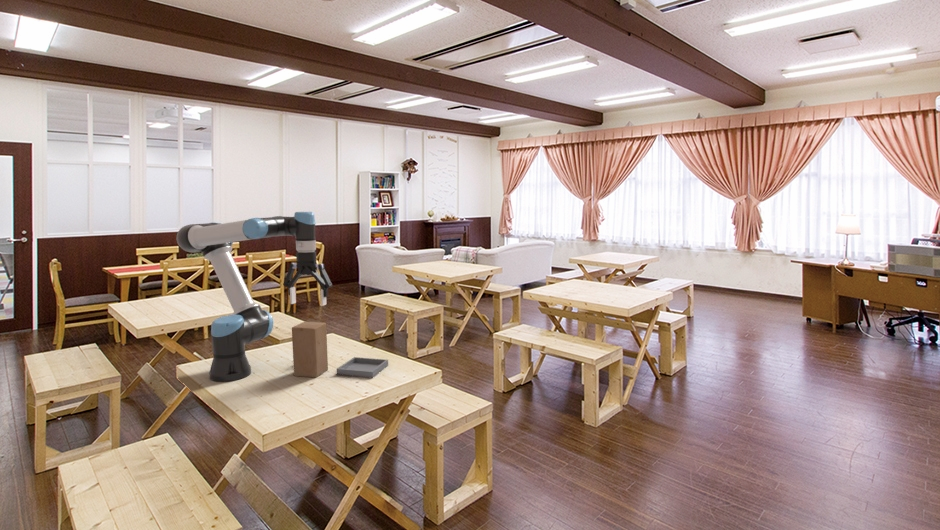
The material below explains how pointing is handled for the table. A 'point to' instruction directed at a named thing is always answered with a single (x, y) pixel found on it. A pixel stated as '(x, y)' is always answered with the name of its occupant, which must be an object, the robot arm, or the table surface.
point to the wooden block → (309, 349)
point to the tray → (362, 367)
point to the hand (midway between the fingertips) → (308, 304)
